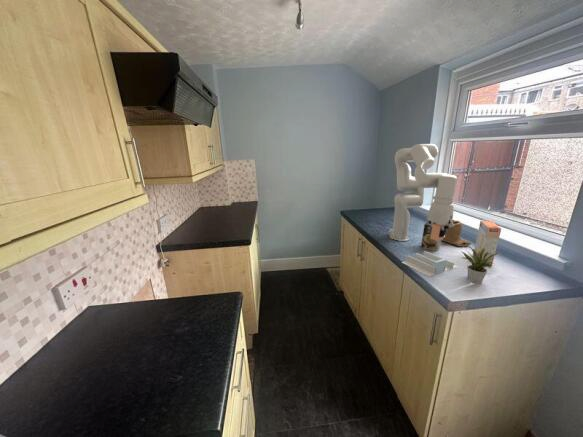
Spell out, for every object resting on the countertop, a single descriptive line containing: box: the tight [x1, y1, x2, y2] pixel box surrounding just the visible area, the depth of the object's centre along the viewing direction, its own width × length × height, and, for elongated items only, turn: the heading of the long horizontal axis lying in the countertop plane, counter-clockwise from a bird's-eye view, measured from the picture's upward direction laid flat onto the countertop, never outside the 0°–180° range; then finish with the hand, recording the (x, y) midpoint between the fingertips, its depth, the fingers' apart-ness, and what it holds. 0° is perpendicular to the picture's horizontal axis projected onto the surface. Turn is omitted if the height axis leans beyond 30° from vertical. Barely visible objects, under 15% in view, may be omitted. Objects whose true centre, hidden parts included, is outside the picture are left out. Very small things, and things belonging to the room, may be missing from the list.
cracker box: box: [472, 220, 502, 266], centre depth 124 cm, size 14×6×21 cm, turn 153°
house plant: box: [460, 245, 503, 285], centre depth 105 cm, size 14×14×16 cm
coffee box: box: [420, 221, 442, 252], centre depth 139 cm, size 9×6×16 cm
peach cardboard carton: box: [430, 223, 443, 241], centre depth 118 cm, size 4×4×8 cm
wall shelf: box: [401, 250, 459, 277], centre depth 121 cm, size 16×22×7 cm
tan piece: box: [442, 220, 472, 247], centre depth 148 cm, size 15×12×15 cm
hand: (437, 234), depth 119 cm, fingers closed on peach cardboard carton, 4 cm apart
